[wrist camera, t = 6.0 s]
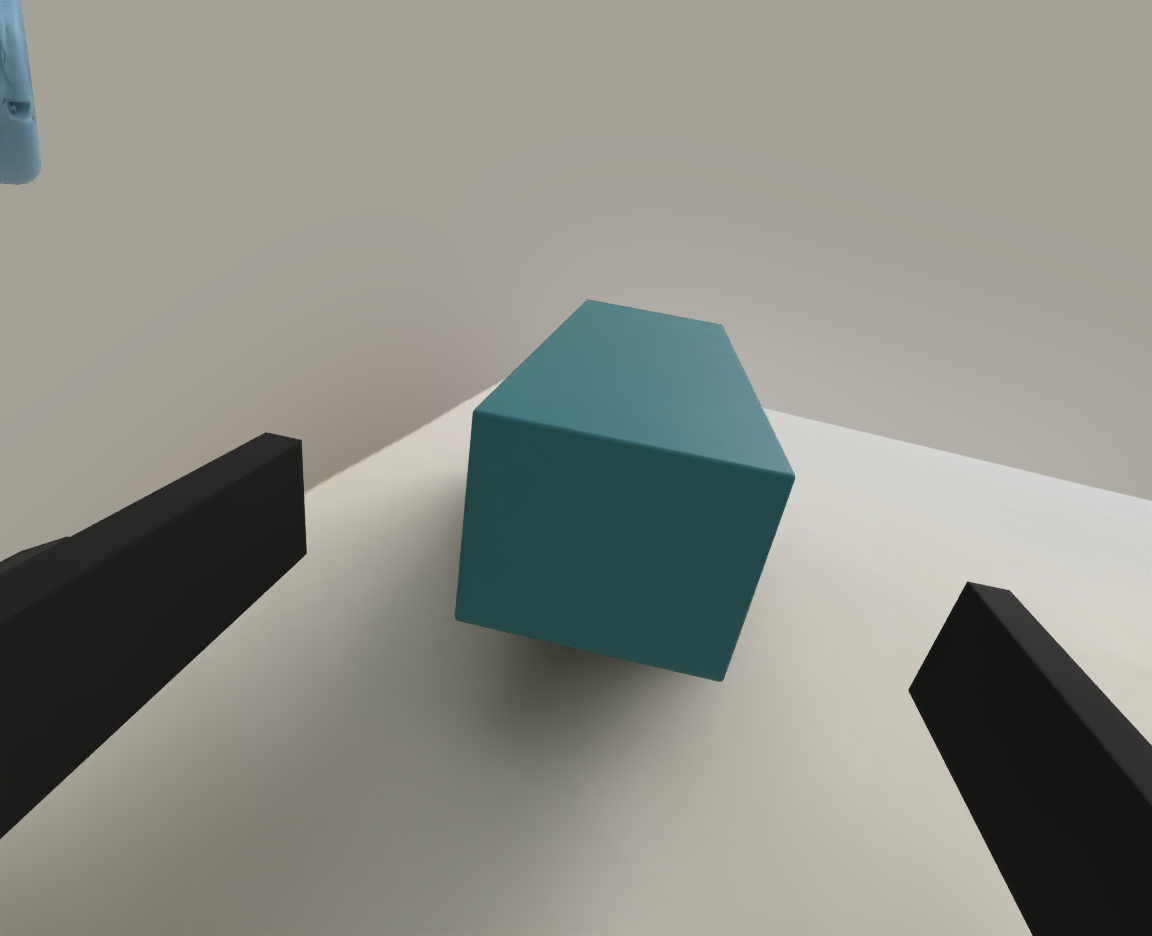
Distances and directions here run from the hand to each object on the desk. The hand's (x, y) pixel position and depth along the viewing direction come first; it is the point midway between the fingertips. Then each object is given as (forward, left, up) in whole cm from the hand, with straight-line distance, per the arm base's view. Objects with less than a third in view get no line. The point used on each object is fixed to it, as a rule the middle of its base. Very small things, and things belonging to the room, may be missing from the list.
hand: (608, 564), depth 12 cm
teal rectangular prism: (0, +8, 0) cm, 8 cm away
